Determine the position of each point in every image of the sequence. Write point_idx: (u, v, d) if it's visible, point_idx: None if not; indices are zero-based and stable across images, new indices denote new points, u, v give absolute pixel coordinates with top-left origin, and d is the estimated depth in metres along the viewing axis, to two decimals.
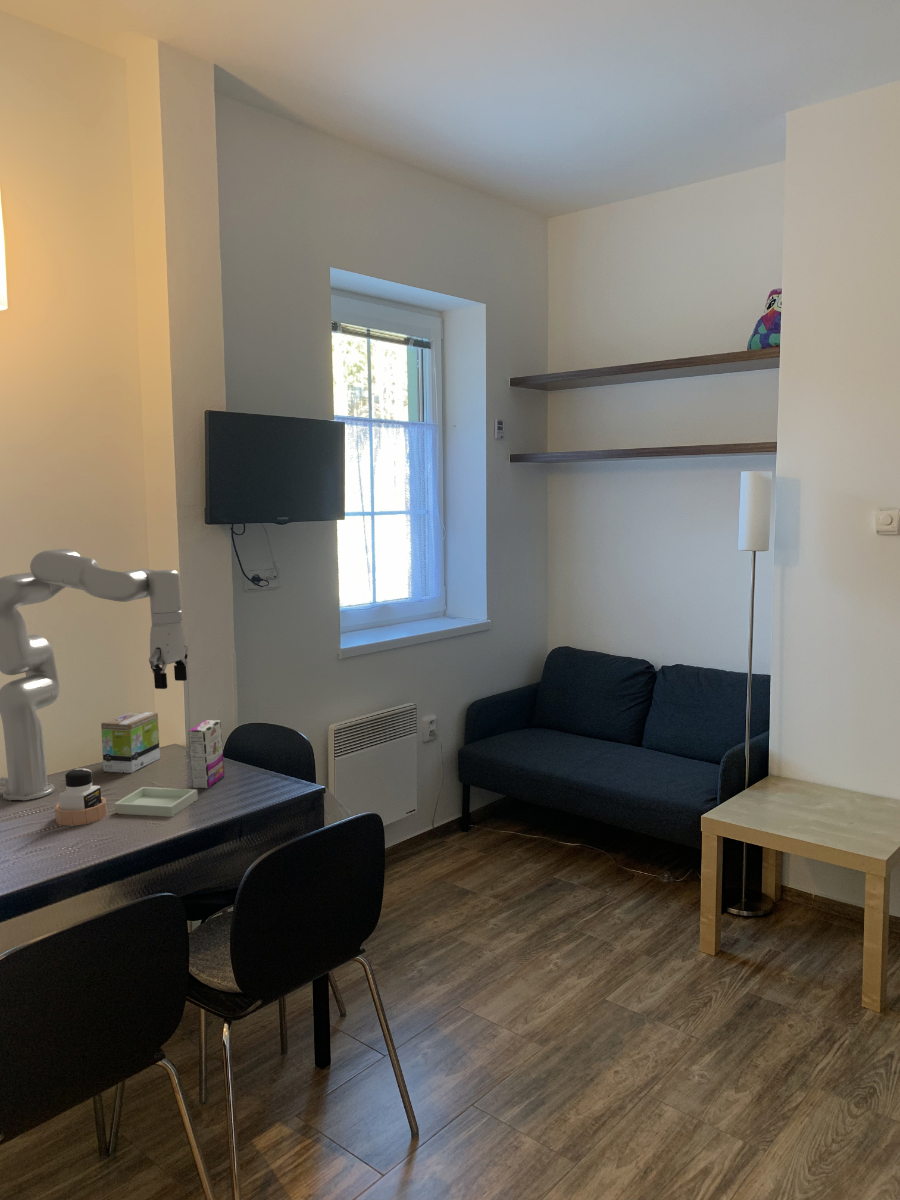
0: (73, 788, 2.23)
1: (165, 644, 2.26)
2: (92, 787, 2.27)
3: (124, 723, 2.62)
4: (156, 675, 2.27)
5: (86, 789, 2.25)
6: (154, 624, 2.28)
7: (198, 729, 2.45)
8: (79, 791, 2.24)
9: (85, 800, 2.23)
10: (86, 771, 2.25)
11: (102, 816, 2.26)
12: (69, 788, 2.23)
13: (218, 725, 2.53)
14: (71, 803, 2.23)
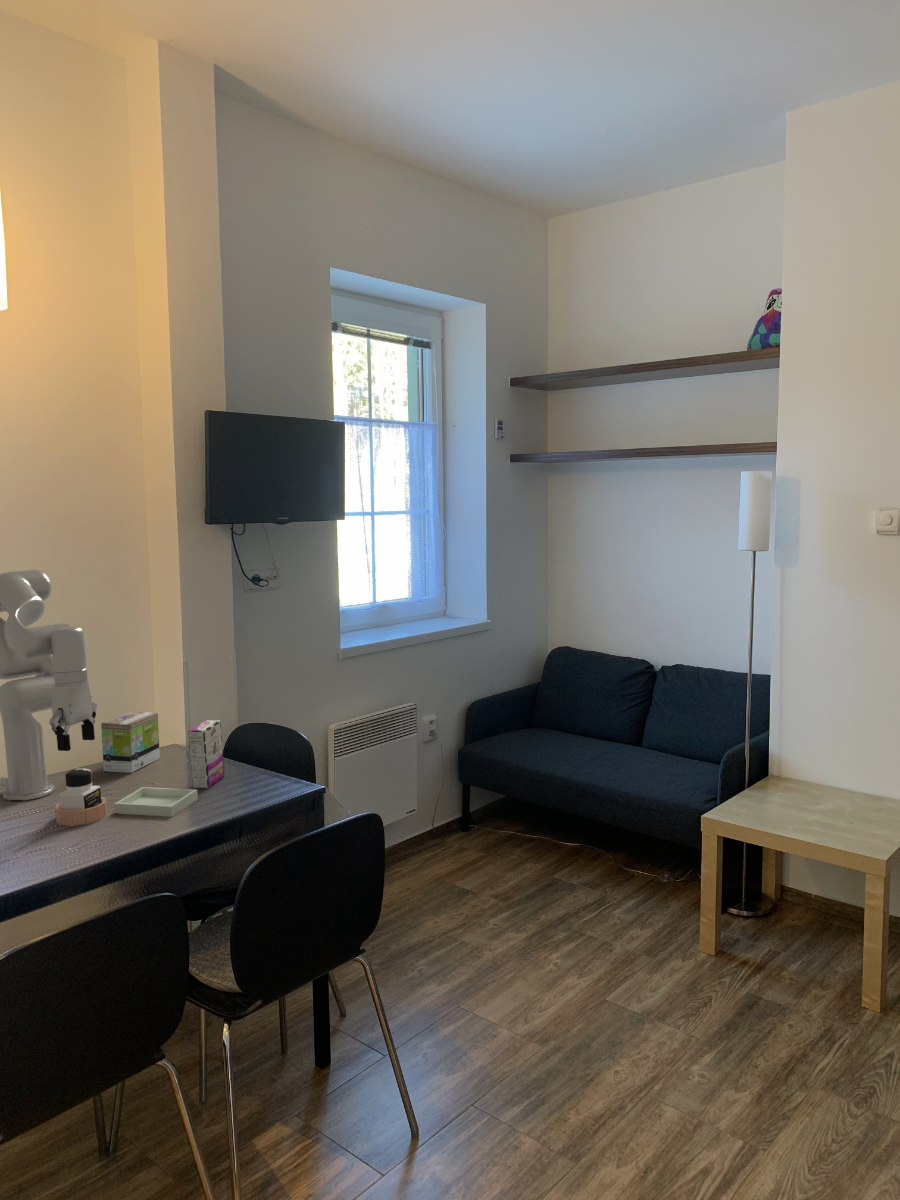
0: (73, 788, 2.23)
1: (67, 705, 2.18)
2: (92, 787, 2.27)
3: (124, 723, 2.62)
4: (58, 737, 2.19)
5: (86, 789, 2.25)
6: (56, 684, 2.20)
7: (198, 729, 2.45)
8: (80, 791, 2.24)
9: (86, 800, 2.23)
10: (86, 771, 2.25)
11: (102, 816, 2.26)
12: (69, 788, 2.23)
13: (218, 725, 2.53)
14: (71, 803, 2.23)
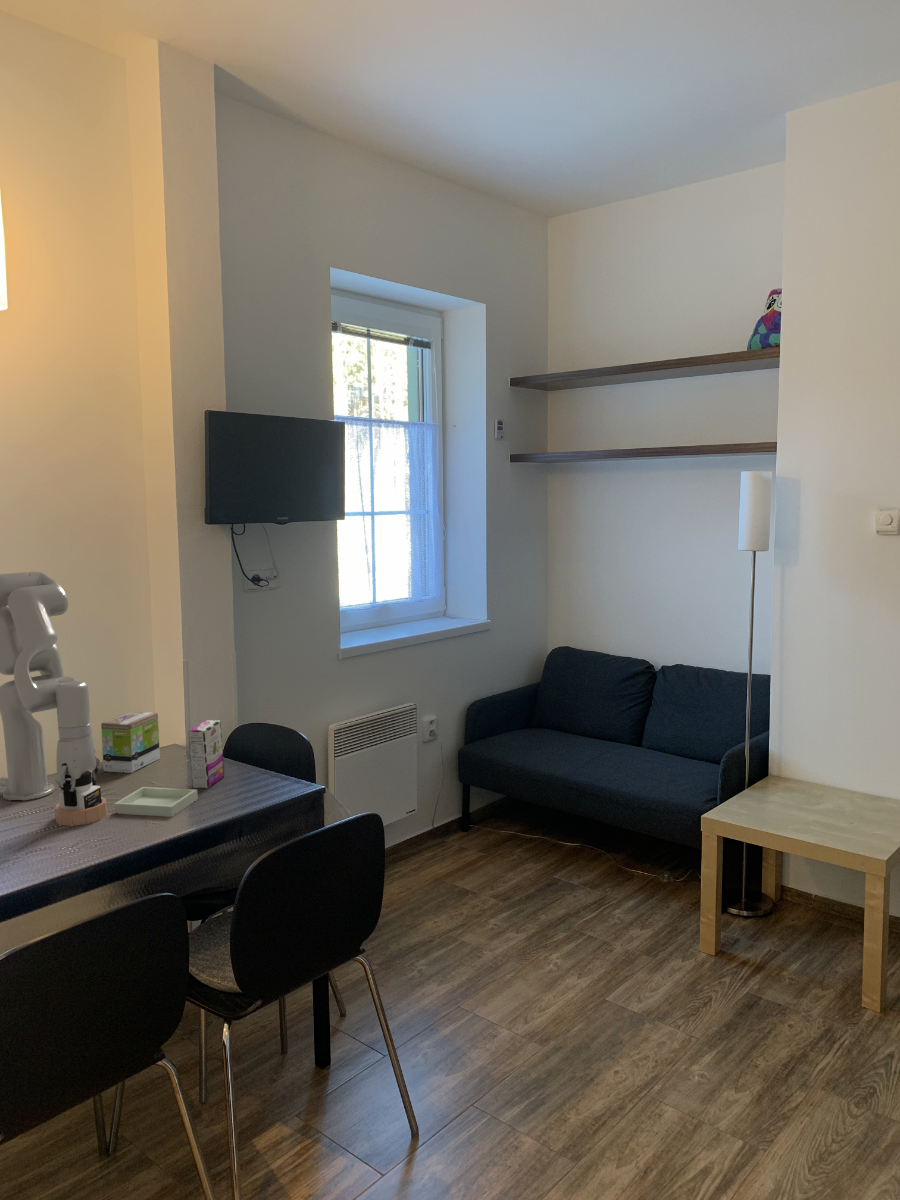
0: None
1: (72, 760, 2.20)
2: (92, 787, 2.27)
3: (124, 723, 2.62)
4: (65, 793, 2.21)
5: (86, 789, 2.25)
6: (61, 739, 2.21)
7: (198, 729, 2.45)
8: (80, 791, 2.24)
9: (86, 800, 2.23)
10: (86, 771, 2.25)
11: (102, 816, 2.26)
12: None
13: (218, 725, 2.53)
14: None
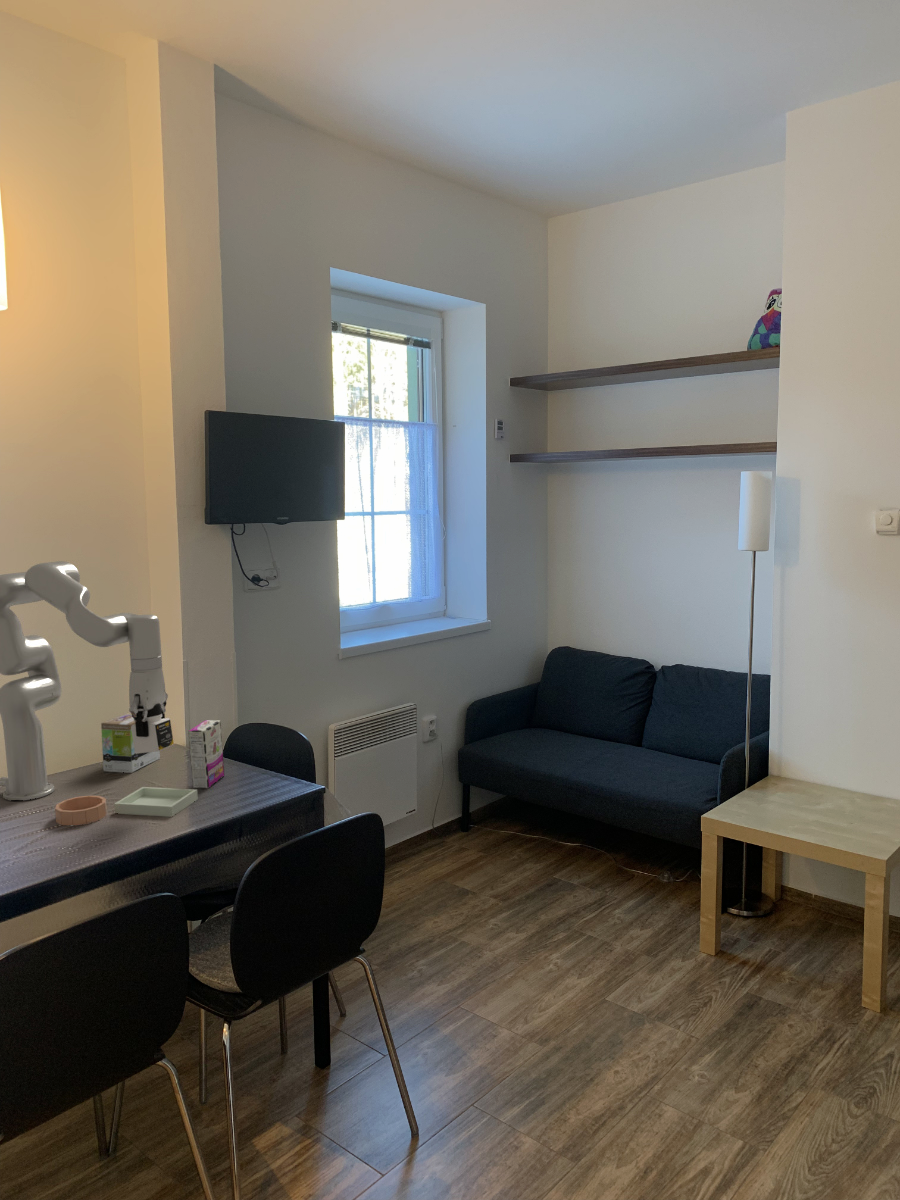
0: None
1: (144, 690, 2.25)
2: (162, 719, 2.31)
3: (124, 723, 2.62)
4: (137, 723, 2.26)
5: (157, 720, 2.29)
6: (133, 670, 2.26)
7: (198, 729, 2.45)
8: (151, 721, 2.28)
9: (157, 729, 2.27)
10: None
11: (102, 816, 2.26)
12: None
13: (218, 725, 2.53)
14: None
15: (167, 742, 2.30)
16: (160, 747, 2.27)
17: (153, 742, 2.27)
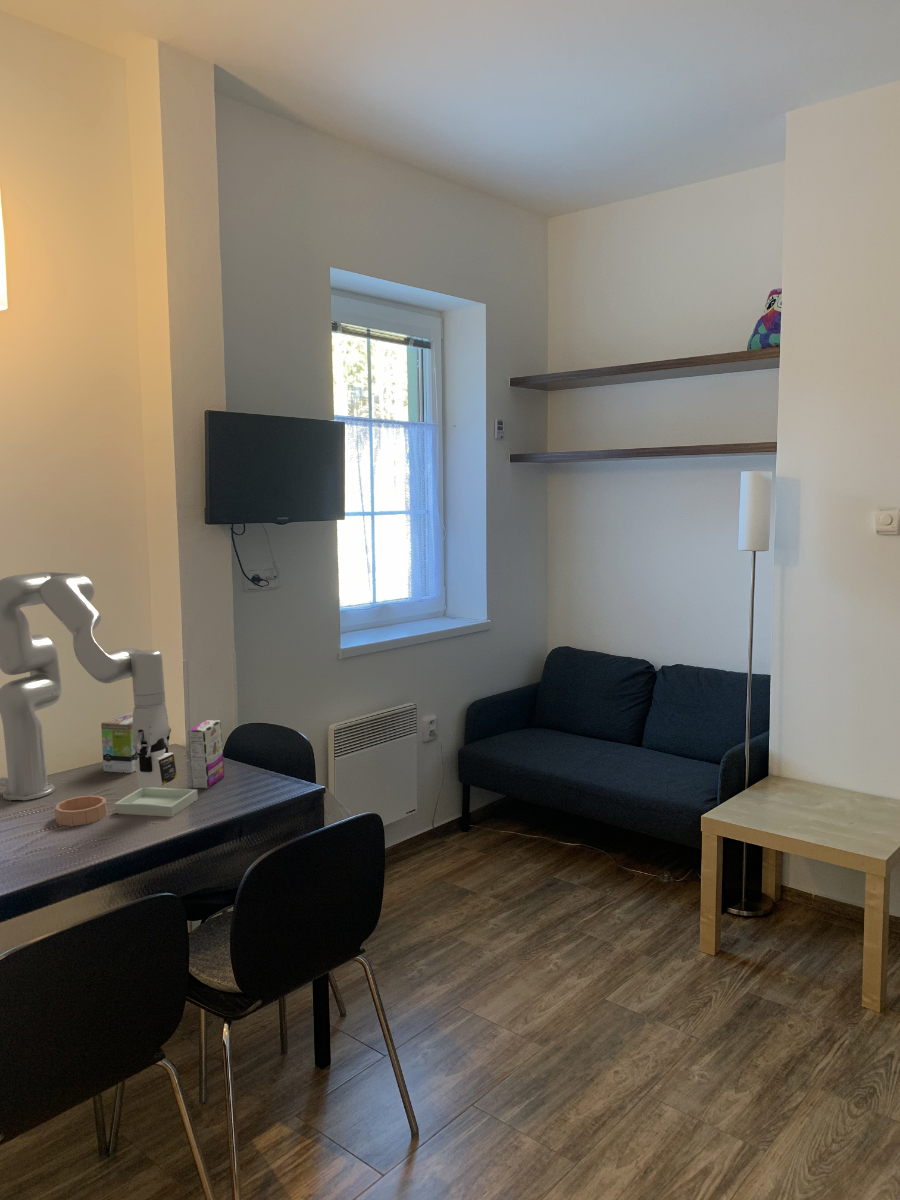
0: None
1: (148, 726, 2.26)
2: (166, 753, 2.33)
3: (124, 723, 2.62)
4: (141, 759, 2.27)
5: (160, 754, 2.30)
6: (137, 706, 2.27)
7: (198, 729, 2.45)
8: (154, 756, 2.29)
9: (161, 764, 2.28)
10: None
11: (102, 816, 2.26)
12: None
13: (218, 725, 2.53)
14: None
15: (170, 777, 2.31)
16: (164, 782, 2.28)
17: (157, 778, 2.28)
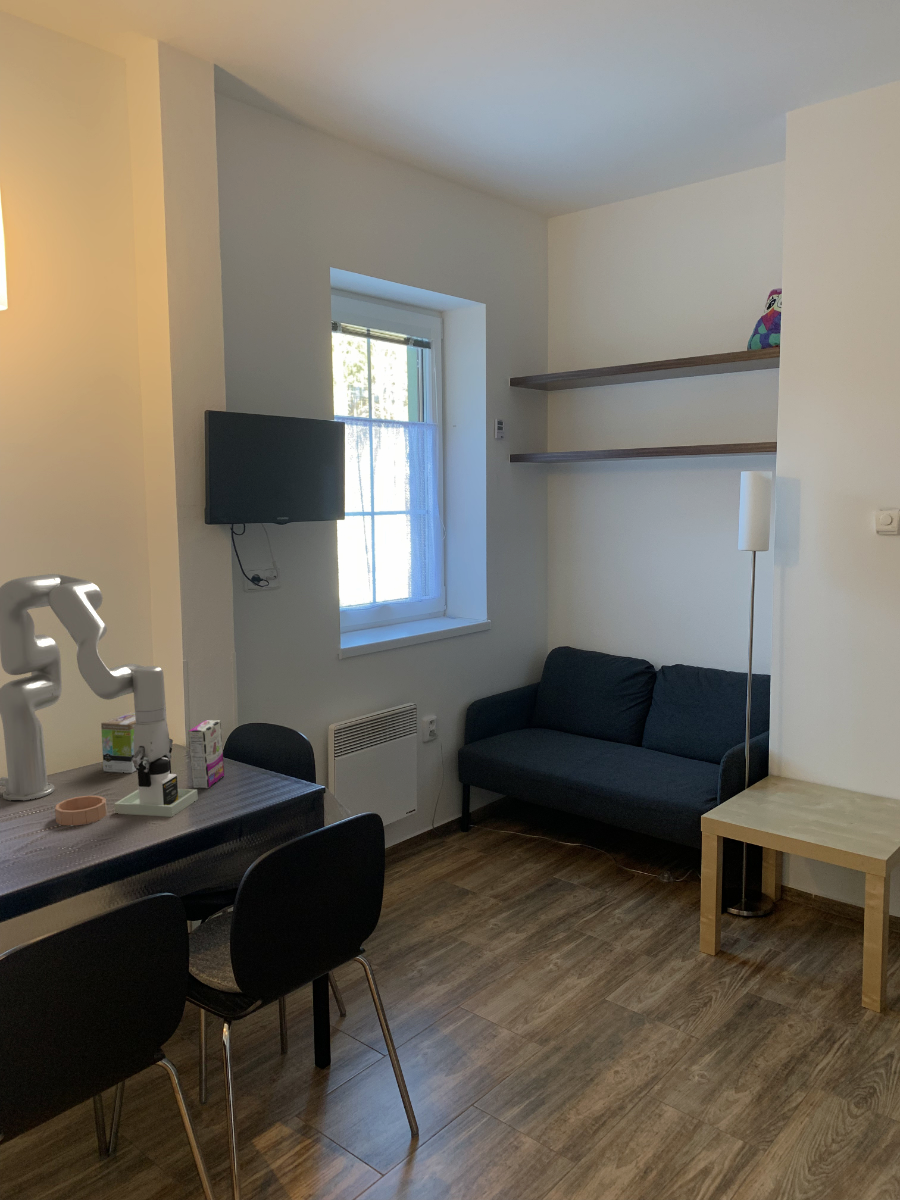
0: (152, 776, 2.29)
1: (149, 742, 2.26)
2: (169, 775, 2.33)
3: (124, 723, 2.62)
4: (140, 773, 2.26)
5: (164, 777, 2.30)
6: (138, 722, 2.28)
7: (198, 729, 2.45)
8: (158, 778, 2.29)
9: (164, 788, 2.28)
10: (164, 759, 2.31)
11: (102, 816, 2.26)
12: None
13: (218, 725, 2.53)
14: (150, 790, 2.29)
15: (172, 799, 2.32)
16: None
17: (159, 800, 2.29)
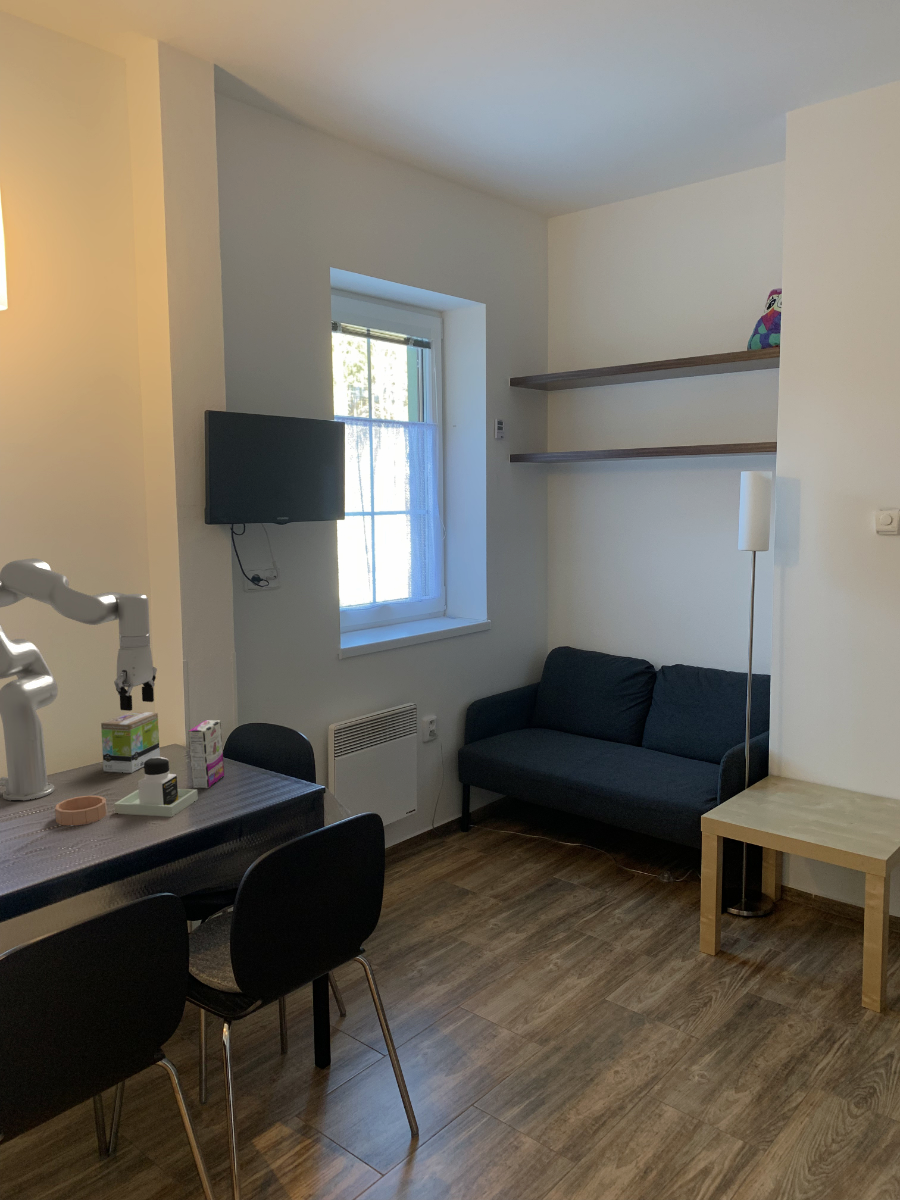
0: (152, 776, 2.29)
1: (131, 667, 2.31)
2: (169, 775, 2.33)
3: (124, 723, 2.62)
4: (121, 697, 2.32)
5: (164, 777, 2.30)
6: (121, 647, 2.33)
7: (198, 729, 2.45)
8: (158, 778, 2.29)
9: (164, 788, 2.28)
10: (164, 759, 2.31)
11: (102, 816, 2.26)
12: (148, 776, 2.29)
13: (218, 725, 2.53)
14: (150, 790, 2.29)
15: (172, 799, 2.32)
16: None
17: (159, 800, 2.29)
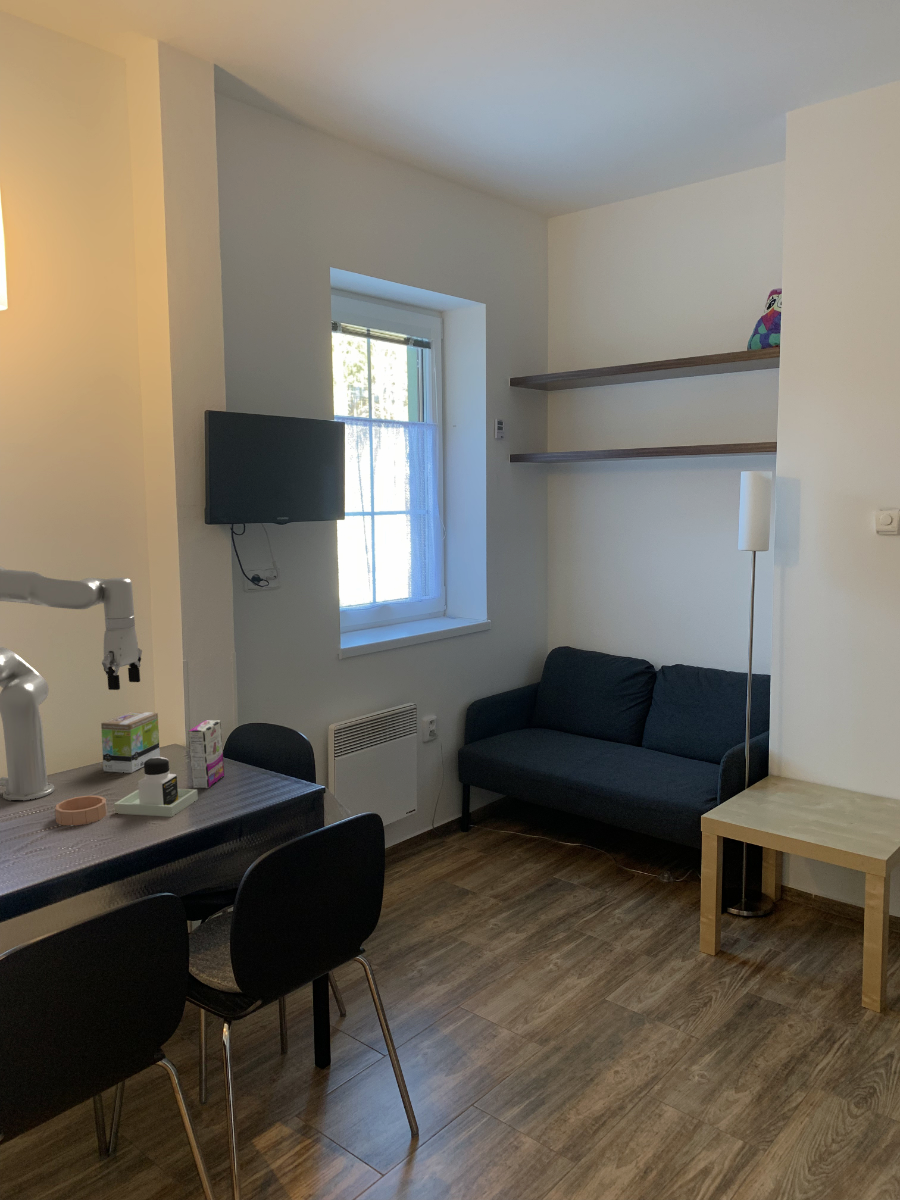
0: (152, 776, 2.29)
1: (118, 648, 2.41)
2: (169, 775, 2.33)
3: (124, 723, 2.62)
4: (109, 677, 2.41)
5: (164, 777, 2.30)
6: (107, 629, 2.42)
7: (198, 729, 2.45)
8: (158, 778, 2.29)
9: (164, 788, 2.28)
10: (164, 759, 2.31)
11: (102, 816, 2.26)
12: (148, 776, 2.29)
13: (218, 725, 2.53)
14: (150, 790, 2.29)
15: (172, 799, 2.32)
16: None
17: (159, 800, 2.29)
